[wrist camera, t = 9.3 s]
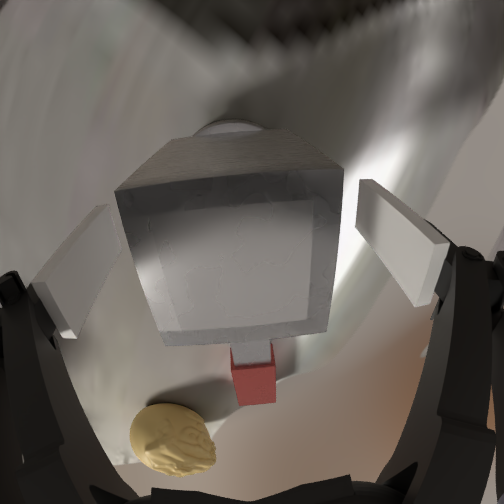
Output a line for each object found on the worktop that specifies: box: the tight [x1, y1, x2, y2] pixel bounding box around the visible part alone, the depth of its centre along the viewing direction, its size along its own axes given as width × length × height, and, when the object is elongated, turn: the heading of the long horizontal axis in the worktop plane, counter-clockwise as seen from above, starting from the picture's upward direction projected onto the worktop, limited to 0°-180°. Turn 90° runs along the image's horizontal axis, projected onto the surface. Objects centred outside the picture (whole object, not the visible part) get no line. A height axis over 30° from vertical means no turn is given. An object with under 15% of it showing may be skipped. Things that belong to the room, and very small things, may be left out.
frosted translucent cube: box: [114, 129, 344, 346], centre depth 13 cm, size 7×7×9 cm
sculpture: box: [130, 403, 216, 477], centre depth 32 cm, size 12×12×11 cm
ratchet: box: [192, 119, 276, 406], centre depth 22 cm, size 30×8×8 cm, turn 4°
